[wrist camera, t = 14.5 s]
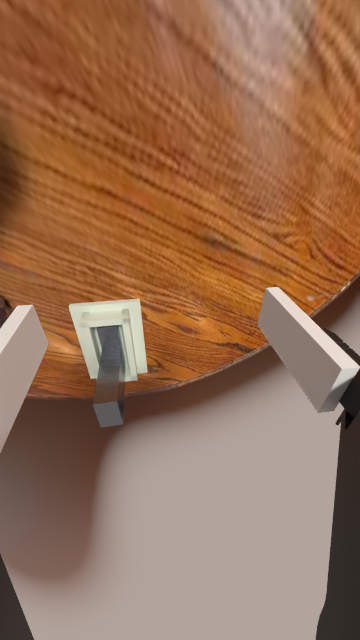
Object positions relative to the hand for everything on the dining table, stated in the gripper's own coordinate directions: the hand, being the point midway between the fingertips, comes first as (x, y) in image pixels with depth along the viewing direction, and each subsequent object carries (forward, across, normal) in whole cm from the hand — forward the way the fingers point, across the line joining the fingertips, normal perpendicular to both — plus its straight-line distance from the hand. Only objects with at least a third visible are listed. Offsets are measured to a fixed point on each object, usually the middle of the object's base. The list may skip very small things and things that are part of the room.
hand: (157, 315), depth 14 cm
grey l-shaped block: (+26, -8, -23) cm, 35 cm away
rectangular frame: (+27, -8, -23) cm, 36 cm away
